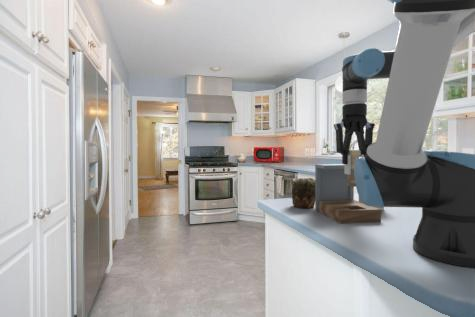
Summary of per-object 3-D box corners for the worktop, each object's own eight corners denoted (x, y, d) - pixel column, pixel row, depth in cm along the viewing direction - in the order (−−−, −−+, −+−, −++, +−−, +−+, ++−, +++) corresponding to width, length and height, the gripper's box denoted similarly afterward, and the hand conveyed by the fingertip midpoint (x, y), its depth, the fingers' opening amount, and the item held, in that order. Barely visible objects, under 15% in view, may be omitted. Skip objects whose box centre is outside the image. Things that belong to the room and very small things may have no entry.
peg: (362, 186, 89) (363, 150, 89) (351, 186, 89) (351, 150, 88) (356, 184, 93) (356, 150, 93) (345, 184, 93) (345, 150, 92)
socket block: (380, 221, 88) (380, 209, 88) (340, 223, 87) (340, 211, 86) (353, 209, 105) (353, 199, 105) (318, 211, 103) (318, 200, 103)
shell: (322, 209, 107) (322, 179, 106) (294, 209, 107) (294, 179, 106) (314, 203, 117) (314, 176, 117) (289, 203, 118) (289, 176, 117)
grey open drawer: (363, 213, 99) (363, 164, 98) (324, 215, 97) (324, 165, 97) (351, 208, 107) (351, 163, 106) (315, 210, 105) (315, 164, 105)
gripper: (371, 106, 95) (370, 172, 96) (325, 105, 93) (325, 173, 94) (385, 102, 87) (384, 174, 88) (335, 102, 85) (335, 175, 86)
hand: (354, 173), depth 91 cm, fingers closed on peg, 4 cm apart
